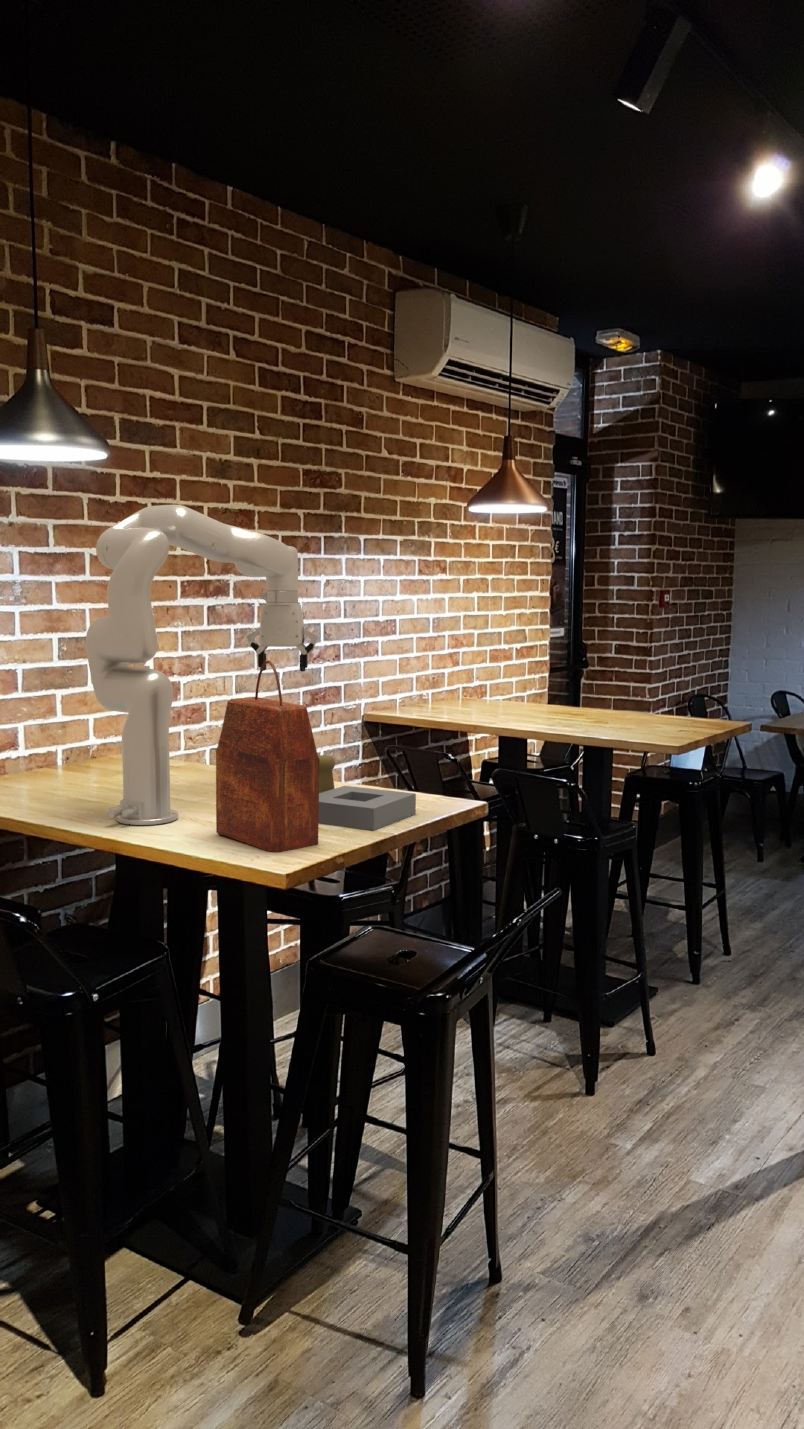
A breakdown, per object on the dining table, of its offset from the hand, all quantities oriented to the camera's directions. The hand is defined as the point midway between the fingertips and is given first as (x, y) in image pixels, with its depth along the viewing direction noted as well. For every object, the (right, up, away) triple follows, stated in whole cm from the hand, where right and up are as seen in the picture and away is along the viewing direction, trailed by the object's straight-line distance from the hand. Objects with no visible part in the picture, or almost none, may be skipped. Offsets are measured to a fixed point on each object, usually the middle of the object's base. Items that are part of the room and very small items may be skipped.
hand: (282, 670), depth 252 cm
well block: (+19, -32, -28) cm, 47 cm away
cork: (+11, -31, -14) cm, 36 cm away
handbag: (+2, -35, -48) cm, 60 cm away
